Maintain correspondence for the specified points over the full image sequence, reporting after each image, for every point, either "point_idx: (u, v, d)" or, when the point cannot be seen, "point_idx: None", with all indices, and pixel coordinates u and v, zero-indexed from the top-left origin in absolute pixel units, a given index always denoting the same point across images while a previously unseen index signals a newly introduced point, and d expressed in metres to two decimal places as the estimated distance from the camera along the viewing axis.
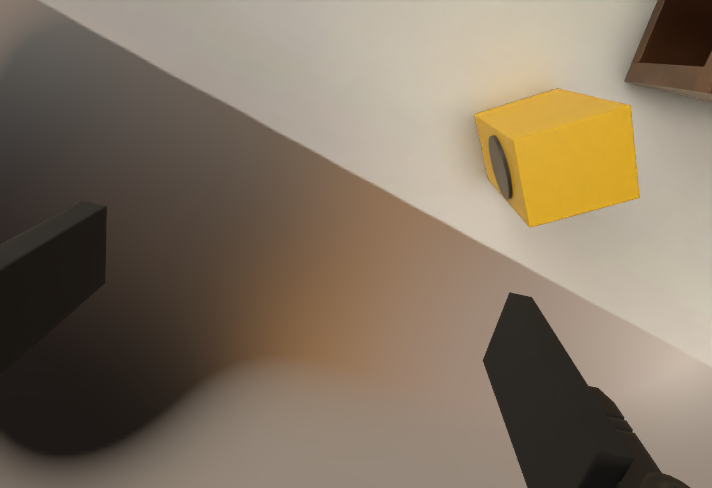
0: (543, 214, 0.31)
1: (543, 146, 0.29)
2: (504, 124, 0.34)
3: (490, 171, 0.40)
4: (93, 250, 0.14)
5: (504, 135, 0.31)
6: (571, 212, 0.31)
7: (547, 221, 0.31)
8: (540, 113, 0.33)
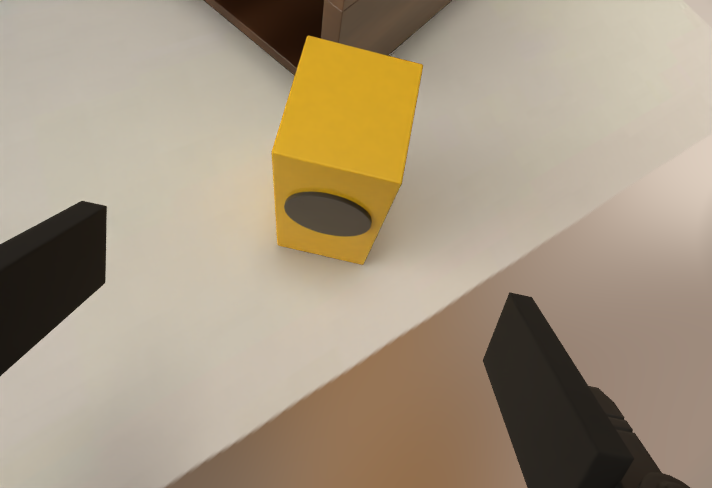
0: (390, 161, 0.22)
1: (300, 125, 0.22)
2: None
3: (347, 251, 0.31)
4: (93, 250, 0.14)
5: (274, 175, 0.23)
6: (404, 132, 0.22)
7: (403, 161, 0.22)
8: None
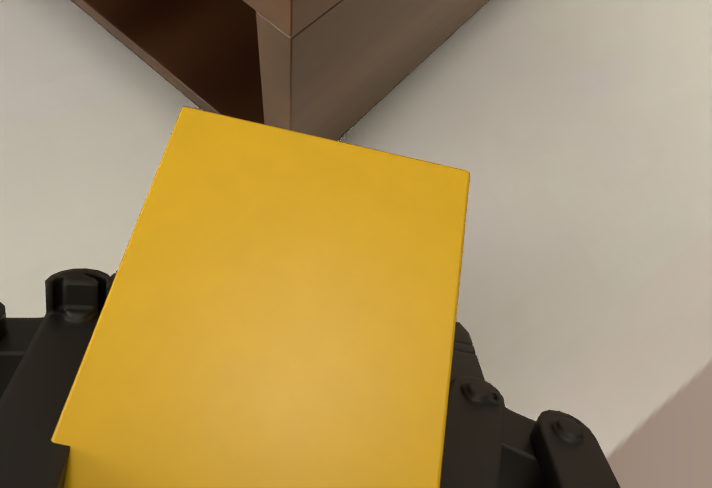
0: (399, 483, 0.07)
1: (135, 383, 0.08)
2: None
3: None
4: None
5: None
6: (434, 376, 0.08)
7: (434, 478, 0.08)
8: None
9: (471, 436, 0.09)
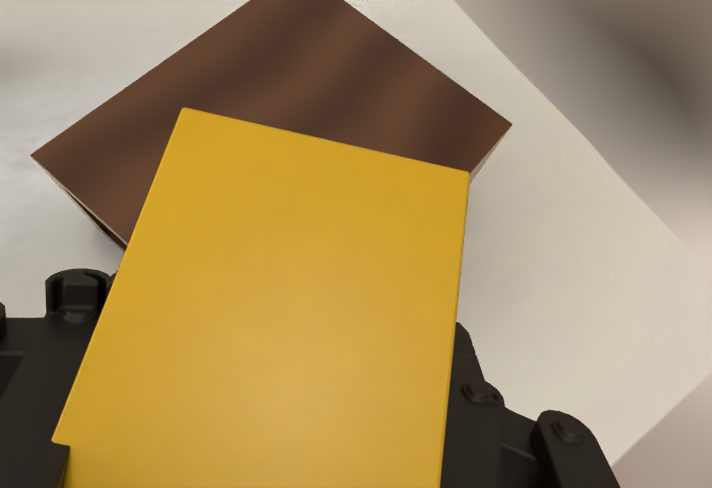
0: (398, 484, 0.07)
1: (135, 384, 0.08)
2: None
3: None
4: None
5: None
6: (434, 377, 0.08)
7: (434, 479, 0.08)
8: None
9: (471, 436, 0.09)
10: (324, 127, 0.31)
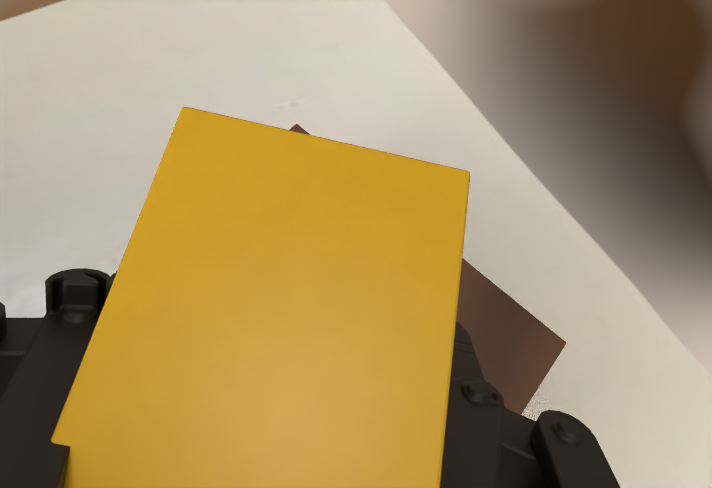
0: (398, 483, 0.07)
1: (135, 383, 0.08)
2: None
3: None
4: None
5: None
6: (434, 376, 0.08)
7: (434, 478, 0.08)
8: None
9: (471, 436, 0.09)
10: None
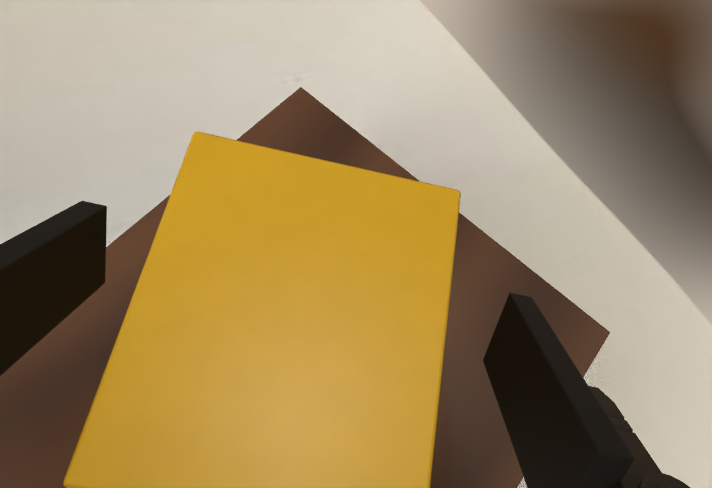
0: (393, 479, 0.08)
1: (154, 388, 0.08)
2: None
3: None
4: (93, 250, 0.14)
5: None
6: (426, 381, 0.09)
7: (425, 474, 0.08)
8: None
9: None
10: None
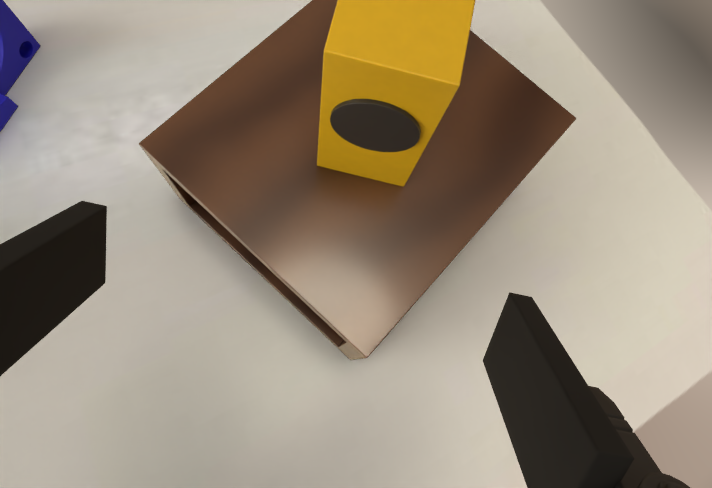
0: (448, 62, 0.21)
1: (353, 23, 0.21)
2: None
3: (389, 170, 0.30)
4: (93, 250, 0.14)
5: (323, 79, 0.22)
6: (463, 31, 0.21)
7: (461, 62, 0.21)
8: None
9: None
10: None
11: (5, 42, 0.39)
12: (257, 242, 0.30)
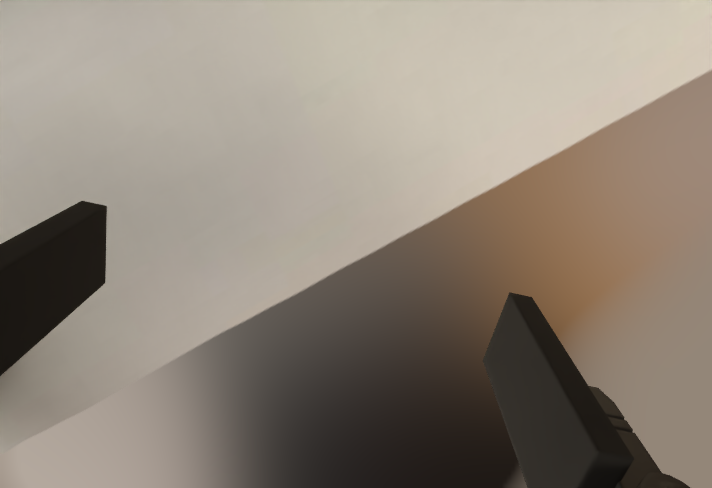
0: None
1: None
2: None
3: None
4: (93, 250, 0.14)
5: None
6: None
7: None
8: None
9: None
10: None
11: None
12: None
